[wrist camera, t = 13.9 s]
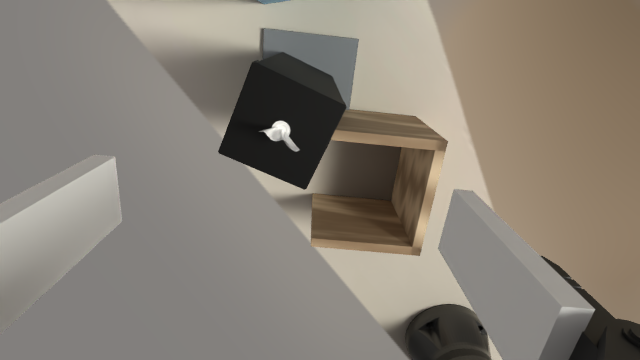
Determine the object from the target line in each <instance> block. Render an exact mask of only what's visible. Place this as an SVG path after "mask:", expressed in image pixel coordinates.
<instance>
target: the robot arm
mask: <svg viewBox="0 0 640 360" xmlns="http://www.w3.org/2000/svg"><path fill="white" fill-rule="evenodd" d="M121 221H122V216H121V206H120V197H119V188H118V179H117V170H116V162H115V157H113V156H102V155H93V156H91V157H89V158H87V159H85V160H83V161H81V162H79V163H77V164H75V165H73V166H72V167H70V168H68V169H66V170H64V171H62V172H60V173H58V174H56V175H54V176H52V177H50V178H48V179H47V180H44V181H43V182H41V183H39V184H37V185H35V186H33V187H31V188H29V189H27V190H25V191H23V192H21V193H20V194H18V195H16V196H14V197H12V198H10V199H8V200H6V201H4V202H2V203H0V335H1V334H2V333H3V332H4V331H5V330H6V329H7V328H8V327H9V326H10V325H12V323H14V322H15V321H16V320H17V319H18V318H19V317H20V316H21V315H22V314H23V313H24V312H25V311H26V310H28V308H30V307H31V306H32V305H33V304H34V303H35V302H36V301H37V300H38V299H39V298H40V297H41V296H43V295H44V294H45V293H46V292H47V291H48V290H49V289H50V288H51V287H52V286H53V285H54V284H55V283H56V282H57V281H59V280H60V279H61V278H62V277H63V276H64V275H65V274H66V273H67V272H68V271H69V270H70V269H71V268H73V267H74V266H75V265H76V264H77V263H78V262H79V261H80V260H81V259H82V258H83V257H84V256H85V255H86V254H87V253H88V252H90V251H91V250H92V249H93V248H94V247H95V246H96V245H97V244H98V243H99V242H100V241H101V240H102V239H103V238H105V236H107V235H108V234H109V233H110V232H111V231H112V230H113V229H114V228H115V227H116V226H117V225H118V224H119V223H121ZM438 249H439V251H440V253H441V254H442V256H443V258H444V260H445V261H446V263H447V265H448V266H449V268H450V270H451V272H452V273H453V275H454V277H455V278H456V280H457V282H458V284H459V285H460V287H461V289H462V290H463V292H464V294H465V296H466V297H467V299H468V301H469V303H470V304H471V306H472V308H473V309H474V311H475V313H474V312H473V311H472V310H470V309H468V308H466V307H463V306H459V305H440V306H436V307H433V308H430V309H428V310H426V311H424V312H422V313H421V314H419V315H418V316H417V317H416V318H415V319H414V320H413V321H412V322H411V323H410V325H409V327H408V329H407V331H406V336H405V340H406V345H407V349H408V352H409V355H410V357H411V359H412V360H492V359H491V354H490V348H489V342H488V335H489V337H490V339H491V340H492V342H493V344H494V345H495V347H496V349H497V351H498V352H499V354H500V356H501V357H502V359H503V360H640V324H637V323H634V322H631V321H627V320H621V319H615V318H614V317H613V316H612V315H611V314H610V313H609V312H608V311H607V310H606V309H604V308H603V307H602V306H601V305H600V304H599V303H598V302H597V301H596V300H595V299H594V298H593V297H592V296H591V295H589V294H588V293H587V292H586V291H585V290H584V289H581V286H580V285H579V284H578V283H577V282H576V281H574V280H571V277H570V276H569V275H568V274H567V273H566V272H565V271H564V270H563V269H562V268H560V266H558V265H556V264H554V263H553V262H552V261H550V260H548V259H547V258H545V257H543V256H540V255H539V254H537V253H536V252H535V251H534V250H533V249H532V248H531V247H530V246H529V245H528V244H527V243H526V242H525V241H524V240H523V239H522V238H521V237H520V236H519V235H518V234H517V233H516V232H515V231H514V230H513V229H512V228H511V227H509V225H507V224H506V223H505V222H504V221H503V220H502V219H501V218H500V217H499V216H498V215H497V214H496V213H495V212H494V211H493V210H492V209H491V208H490V207H489V206H488V205H487V204H486V203H485V202H484V201H483V200H482V199H481V198H480V197H479V196H478V195H476V194H475V193H474V192H473V191H469V190H458V189H454V191H453V194H452V198H451V202H450V206H449V209H448V213H447V217H446V221H445V224H444V228H443V232H442V236H441V239H440V243H439V247H438ZM487 333H488V335H487Z"/></svg>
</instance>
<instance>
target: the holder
mask: <svg viewBox="0 0 640 360" xmlns="http://www.w3.org/2000/svg"><path fill="white" fill-rule="evenodd" d="M331 140H336V141H346V142H356V143H366V144H376V145H386V146H396V147H402V148H401V153H400V158H399V163H398V168H397V173H396V178H395V183H394V188H393V193H392V198H391V201H388V200H378V199H367V198H356V197H345V196H335V195H324V194H313V196H312V221H311V246H313V247H324V248H336V249H348V250H359V251H371V252H383V253H394V254H406V255H418V256H420V252H421V248H422V244H423V240H424V236H425V232H426V228H427V224H428V220H429V216H430V212H431V208H432V204H433V200H434V196H435V191H436V187H437V183H438V179H439V175H440V171H441V167H442V163H443V159H444V155H445V151H446V147H447V143H448V141H447V140H445V139H444V138H443V137H442V136H440V135H439V134H438V133H436V132H435V131H434V130H433V129H431V128H430V127H429V126H427V125H426V124H425V123H424V122H422V121H421V120H420V119H418V118H417V117H416V116H407V115H397V114H388V113H378V112H369V111H359V110H350V109H349V110H345V112H344V114H343V116H342V118H341V120H340V122H339V124H338V126H337V128H336V130H335V132H334V134H333V136H332V138H331Z"/></svg>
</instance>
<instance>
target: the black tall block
mask: <svg viewBox="0 0 640 360" xmlns="http://www.w3.org/2000/svg"><path fill="white" fill-rule="evenodd" d="M346 108H347V107H346V104H345V102H344V101H343V99H342V97H341V94H340V92H339V90H338V88H337V85H336V83H335V81H334V78H333V76H331V75H329V74H327V73H325V72H323V71H321V70H319V69H317V68H315V67H313V66H311V65H309V64H307V63H305V62H303V61H301V60H299V59H297V58H294V57H292V56H290V55H288V54H286V53H284V52H281V53H279V54H276V55H274V56H271V57H268V58H266V59H263V60H261V61H258V60H257V61H254V62H252V64H251V67H250V70H249V72H248V75H247V78H246V80H245V83H244V85H243V88H242V91H241V93H240V96H239V98H238V101H237V104H236V106H235V109H234V112H233V114H232V117H231V119H230V122H229V125H228V127H227V130H226V133H225V135H224V138H223V141H222V143H221V146H220V148H219V151H218V152H219V153H220V154H222V155H224V156H227V157H229V158H231V159H234V160H236V161H238V162H241V163H243V164H246V165H248V166H250V167H253V168H255V169H257V170H260V171H262V172H264V173H267V174H269V175H271V176H274V177H276V178H278V179H281V180H283V181H285V182H288V183H290V184H293V185H295V186H297V187H300V188H302V189H304V190H305V189H306V188H307V186H308V184H309V182H310V180H311V178H312V176H313V174H314V172H315V170H316V168H317V166H318V164H319V162H320V160H321V158H322V156H323V154H324V152H325V150H326V148H327V146H328V144H329V142H330V140H331V138H332V136H333V134H334V132H335V130H336V128H337V126H338V124H339V122H340V120H341V118H342V116H343V114H344V112H345V110H346Z"/></svg>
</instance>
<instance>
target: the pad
mask: <svg viewBox="0 0 640 360" xmlns="http://www.w3.org/2000/svg"><path fill="white" fill-rule="evenodd" d="M358 41H359V39H353V38H344V37H336V36H327V35H318V34H310V33H301V32H292V31H284V30H275V29H266V28H264V41H263V59H266V58H268V57H271V56H274V55H276V54H279V53H281V52H284V53H286V54H288V55H290V56H292V57H294V58H297V59H299V60H301V61H303V62H305V63H307V64H309V65H311V66H313V67H315V68H317V69H319V70H321V71H323V72H325V73H327V74H329V75H331V76H333V78H334V81H335V83H336V85H337V88H338V90H339V92H340V94H341V97H342V99H343V101H344V102H345V104H346V107H347V108H346V110H349V107H350V100H351V92H352V85H353V78H354V70H355V63H356V56H357V48H358Z"/></svg>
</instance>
